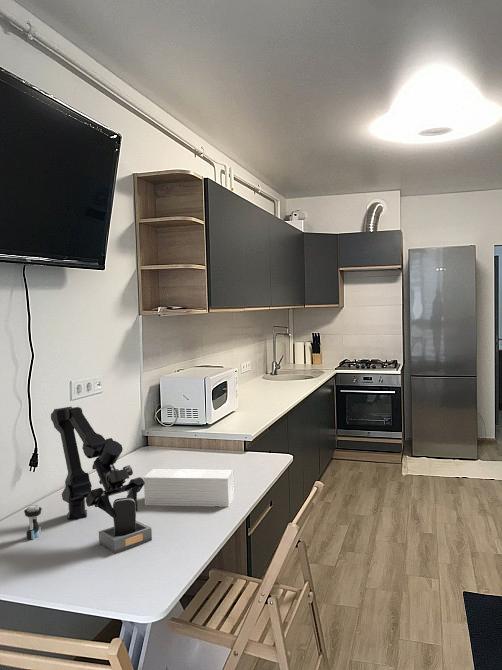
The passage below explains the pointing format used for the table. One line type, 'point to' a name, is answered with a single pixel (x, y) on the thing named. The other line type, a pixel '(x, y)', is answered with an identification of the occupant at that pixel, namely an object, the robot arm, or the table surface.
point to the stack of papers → (189, 487)
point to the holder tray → (125, 538)
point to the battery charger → (124, 516)
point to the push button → (33, 521)
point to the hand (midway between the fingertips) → (126, 514)
